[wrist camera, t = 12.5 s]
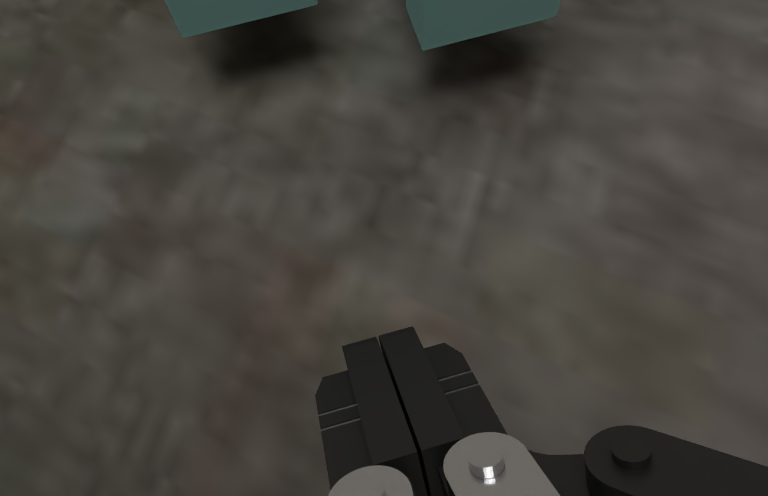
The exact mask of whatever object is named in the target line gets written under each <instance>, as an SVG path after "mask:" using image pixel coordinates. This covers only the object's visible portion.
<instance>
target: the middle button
mask: <svg viewBox="0 0 768 496" xmlns="http://www.w3.org/2000/svg"><path fill="white" fill-rule="evenodd" d="M560 4H561V0H406V10H407V12H408V15H409V18H410V20H411V23H412V25H413V28H414V31H415V33H416V36H417V39H418V41H419V44H420V46H421V49H422V51H424V50H428V49H432V48H436V47H440V46H444V45H448V44H452V43H456V42H460V41H463V40H467V39H471V38H475V37H479V36H483V35H487V34H491V33H495V32H498V31H502V30H506V29H510V28H514V27H518V26H522V25H526V24H530V23H534V22H537V21H541V20H545V19H549V18H553V17H556V16H557V13H558V10H559V7H560Z"/></svg>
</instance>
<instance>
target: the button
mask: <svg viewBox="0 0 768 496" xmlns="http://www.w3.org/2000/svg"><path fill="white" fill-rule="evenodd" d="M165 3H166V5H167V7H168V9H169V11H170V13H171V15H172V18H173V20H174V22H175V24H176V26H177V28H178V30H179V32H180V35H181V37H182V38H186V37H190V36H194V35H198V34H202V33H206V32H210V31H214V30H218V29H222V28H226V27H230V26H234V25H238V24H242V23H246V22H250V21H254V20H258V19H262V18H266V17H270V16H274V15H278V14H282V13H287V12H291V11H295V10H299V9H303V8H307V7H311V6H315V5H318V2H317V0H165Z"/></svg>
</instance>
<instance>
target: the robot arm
mask: <svg viewBox="0 0 768 496" xmlns="http://www.w3.org/2000/svg"><path fill="white" fill-rule="evenodd" d="M379 341H380V345H381V349H380V346H379V343H378V340H377V338H376V337H373V338H370V339H366V340H363V341H359V342H355V343H352V344H348V345H345V346H342V348H343V352H344V356H345V360H346V364H347V368H348V370H347V371H344V372H340V373H337V374H333V375H330V376H326V377H323V378H322V381H321V383H320V386H319V388H318V390H317V393H316V395H315V397H316V403H317V409H318V414H319V421H320V427H321V433H322V439H323V445H324V451H325V458H326V464H327V470H328V476H329V482H330V493H329V495H328V496H768V467H766V466H763V465H760V464H757V463H754V462H751V461H748V460H744V459H741V458H738V457H735V456H732V455H729V454H726V453H723V452H720V451H716V450H713V449H710V448H707V447H704V446H701V445H698V444H695V443H692V442H688V441H685V440H682V439H679V438H676V437H673V436H670V435H667V434H664V433H661V432H657V431H654V430H651V429H648V428H644V427H639V426H627V425H625V426H616V427H611V428H608V429H605V430H603V431H601V432H599V433H597V434H596V435H594V436H593V437H592V438H591V439H590V440H589V441H588V443H587V445H586V447H585V451H584V454H578V455H545V454H539V453H535V452H532V451H529V450H527V449H526V447H525V446H524V445H523V444H522V443H521V442H520V441H518V440H517V439H515V438H513V437H511V436H509V435H508V434H507V433H506V431H505V429H504V428H503V426H502V424H501V422H500V421H499V419H498V417H497V415H496V413H495V412H494V410H493V408H492V406H491V405H490V403H489V401H488V399H487V397H486V396H485V394H484V392H483V390H482V389H481V387H480V385H479V384H478V381H477V380H476V378H475V376H474V374H473V372H471V369H470V367H469V365H468V364H467V362H466V360H465V358H464V356H463V355H462V353H460V352H459V351H457V350H455V349H454V348H452V347H450V346H449V345H447V344H446V343H442V344H438V345H435V346H431V347H428V348H423V346H422V344H421V342H420V340H419V338H418V336H417V334H416V331H415V329H414V327H413V326H412V327H408V328H405V329H401V330H398V331H394V332H391V333H387V334H383V335H380V336H379ZM381 350H382V352H381Z"/></svg>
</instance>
